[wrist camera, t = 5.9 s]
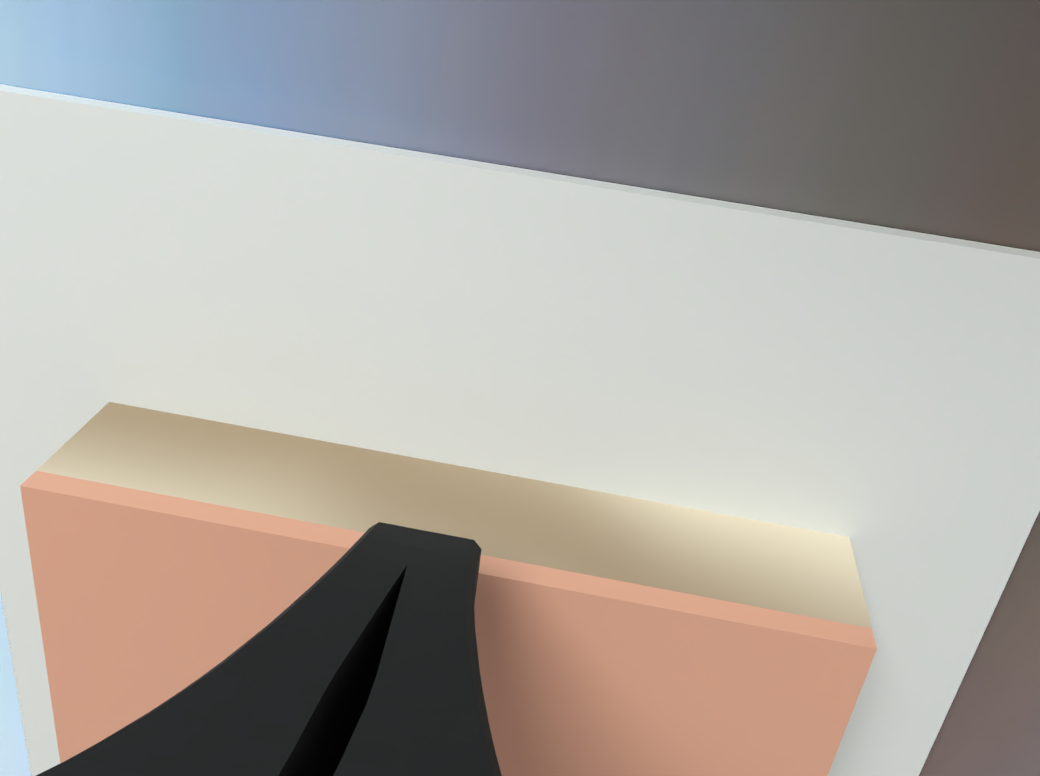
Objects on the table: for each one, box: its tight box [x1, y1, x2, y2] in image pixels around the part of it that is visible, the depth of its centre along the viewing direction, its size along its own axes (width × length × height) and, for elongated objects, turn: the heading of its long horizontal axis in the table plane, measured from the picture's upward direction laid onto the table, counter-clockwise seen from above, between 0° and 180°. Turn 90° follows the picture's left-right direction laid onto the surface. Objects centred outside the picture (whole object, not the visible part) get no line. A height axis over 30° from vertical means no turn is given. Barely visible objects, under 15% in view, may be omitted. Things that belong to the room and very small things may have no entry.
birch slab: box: [20, 402, 877, 776], centre depth 17 cm, size 2×12×8 cm
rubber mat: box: [0, 84, 1040, 776], centre depth 17 cm, size 17×15×1 cm
